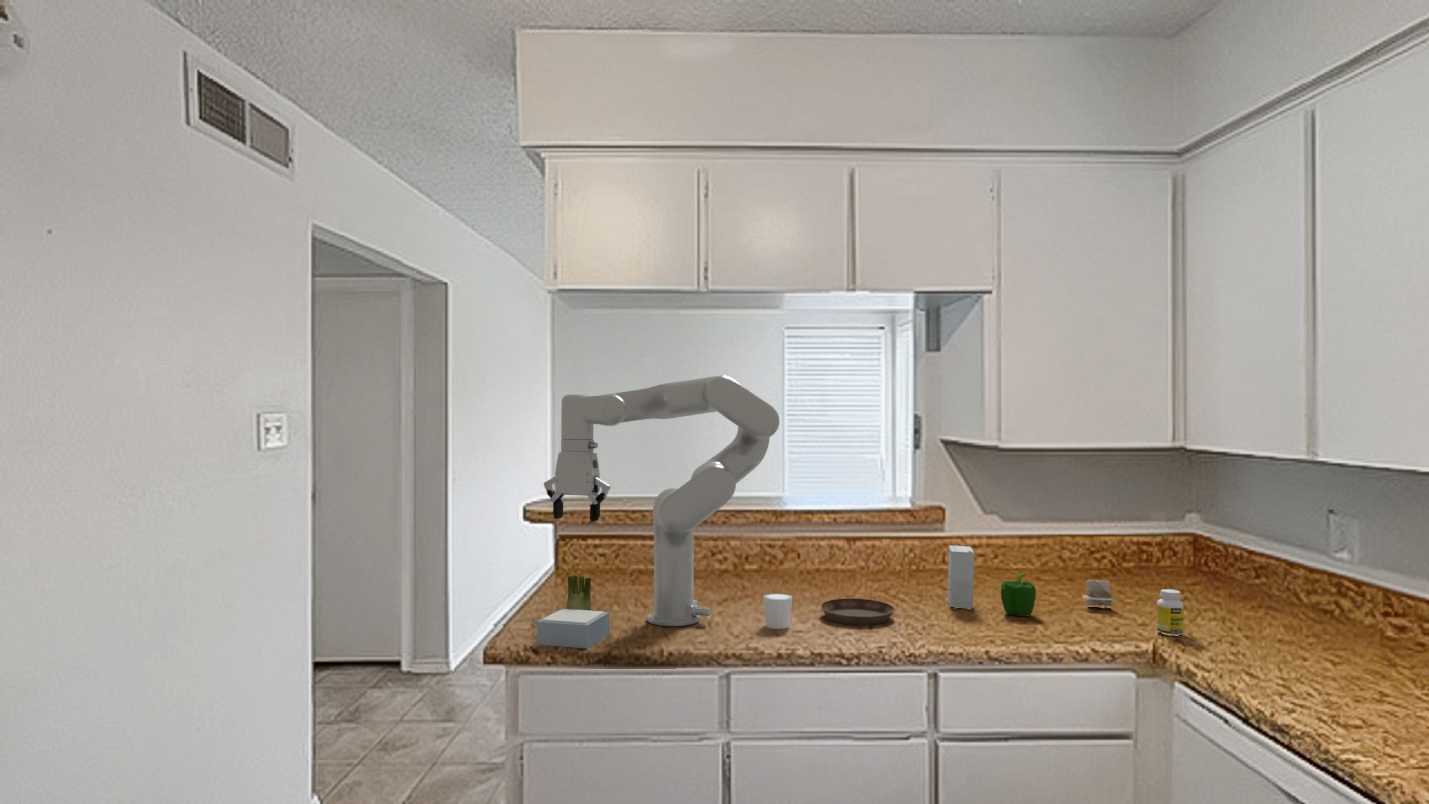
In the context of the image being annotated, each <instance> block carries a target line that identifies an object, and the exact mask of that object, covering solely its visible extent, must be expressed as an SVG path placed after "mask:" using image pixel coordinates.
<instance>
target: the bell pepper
mask: <svg viewBox="0 0 1429 804" xmlns="http://www.w3.org/2000/svg"><path fill="white" fill-rule="evenodd" d="M1025 577H1026V573H1024V572H1021V573H1019V574H1018V576H1017V579H1015V580H1012V581H1010V580H1004V581H1003V582H1002V583H1001V585H1000V586H1001V587H1000V599H1001V602H1002V606H1003V610H1004V612H1005V613H1006V614H1007V613H1008V614H1007V615H1009V614H1010V615H1011V616H1018V615H1021V616H1020V617H1028V616H1027V615H1029V616H1031V615H1032V613H1033V611H1034V607H1035V602H1036V597H1037V596H1036V594H1037V589H1036V587H1035V585H1034V584H1032V583H1031V581H1029V580H1027V581H1023V582H1022V578H1025Z"/></svg>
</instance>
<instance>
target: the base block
mask: <svg viewBox="0 0 1429 804" xmlns="http://www.w3.org/2000/svg"><path fill="white" fill-rule="evenodd" d="M609 635H610V612H609V611H608V612H607V611H603V610H602V611H601V610H599V611H598V610H591V611H588V610H574V609H566V608H560V609H558V610H556V611H554V612H552V613H550V614H548V615H547V616H544V617H541V618H540V619H539V620H537V621H536V645H539V646H552V647H565V648H575V649H590V648H591V647H593V646H594V645H596V644H597V643H599V642H600V641H602V640H604V639H605V638H606V637H608V636H609Z"/></svg>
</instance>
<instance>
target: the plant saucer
mask: <svg viewBox="0 0 1429 804" xmlns="http://www.w3.org/2000/svg"><path fill="white" fill-rule="evenodd" d="M820 607H821V610H822V612H823V613H824V614H825V615H826V617H827V618H828V619H829V620H831V621H832V622H835V623H840V624H844V625H852V626H856V625H857V626H872V625H878V624H882V623H885V622H887V620H889V619H890V617H891V616H892V615H893V613H894V612H895V607H894V606H893V605H891V604H889V603H888V602H887V603H886V602H883V601H879V600H877V599H876V600H875V599H868V598H852V597H850V598H848V597H847V598H836V599H831V600H827V601H824V602H822V603H821V604H820Z"/></svg>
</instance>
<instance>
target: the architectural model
mask: <svg viewBox="0 0 1429 804" xmlns="http://www.w3.org/2000/svg"><path fill="white" fill-rule="evenodd" d="M1110 584H1111V583H1110V580H1086V594H1082V595H1081V597H1082V599H1084V600H1086V606H1087V605H1093V606H1094V605H1098V606H1101V605H1104V606H1109V605H1110V606H1111V607H1112V608H1113V601H1114V598H1113V591H1110V588H1111V587H1110Z"/></svg>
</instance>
